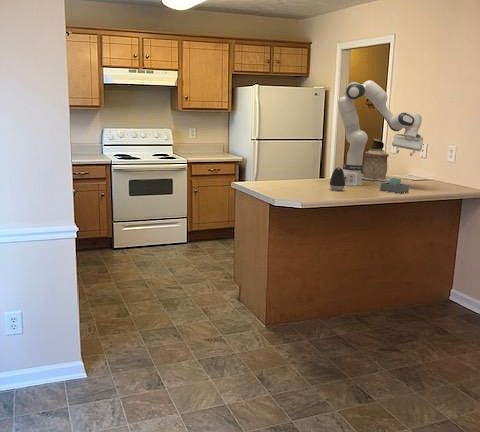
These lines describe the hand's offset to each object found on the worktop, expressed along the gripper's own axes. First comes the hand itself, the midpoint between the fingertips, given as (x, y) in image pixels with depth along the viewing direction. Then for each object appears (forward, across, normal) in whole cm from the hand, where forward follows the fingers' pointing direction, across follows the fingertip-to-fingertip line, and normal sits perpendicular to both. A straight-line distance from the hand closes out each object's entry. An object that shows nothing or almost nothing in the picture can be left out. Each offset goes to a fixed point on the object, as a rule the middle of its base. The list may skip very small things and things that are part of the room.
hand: (404, 154), depth 358 cm
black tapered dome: (+42, -30, -22) cm, 56 cm away
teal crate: (+28, +2, -3) cm, 28 cm away
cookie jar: (+7, -26, +48) cm, 55 cm away
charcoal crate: (+28, +2, -3) cm, 29 cm away
